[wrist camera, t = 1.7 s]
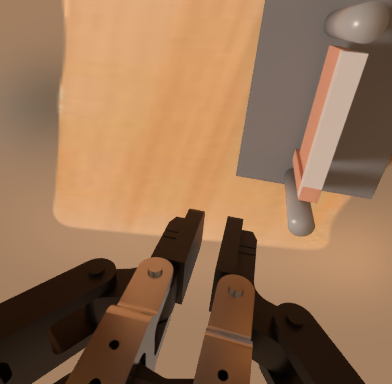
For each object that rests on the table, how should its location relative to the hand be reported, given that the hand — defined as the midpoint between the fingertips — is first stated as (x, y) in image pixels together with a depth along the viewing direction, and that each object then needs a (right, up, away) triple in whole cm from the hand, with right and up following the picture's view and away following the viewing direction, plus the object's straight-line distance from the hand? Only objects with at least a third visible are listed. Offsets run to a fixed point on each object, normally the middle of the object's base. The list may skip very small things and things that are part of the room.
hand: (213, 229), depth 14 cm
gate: (+10, +9, +13) cm, 19 cm away
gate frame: (+11, +10, +13) cm, 20 cm away
